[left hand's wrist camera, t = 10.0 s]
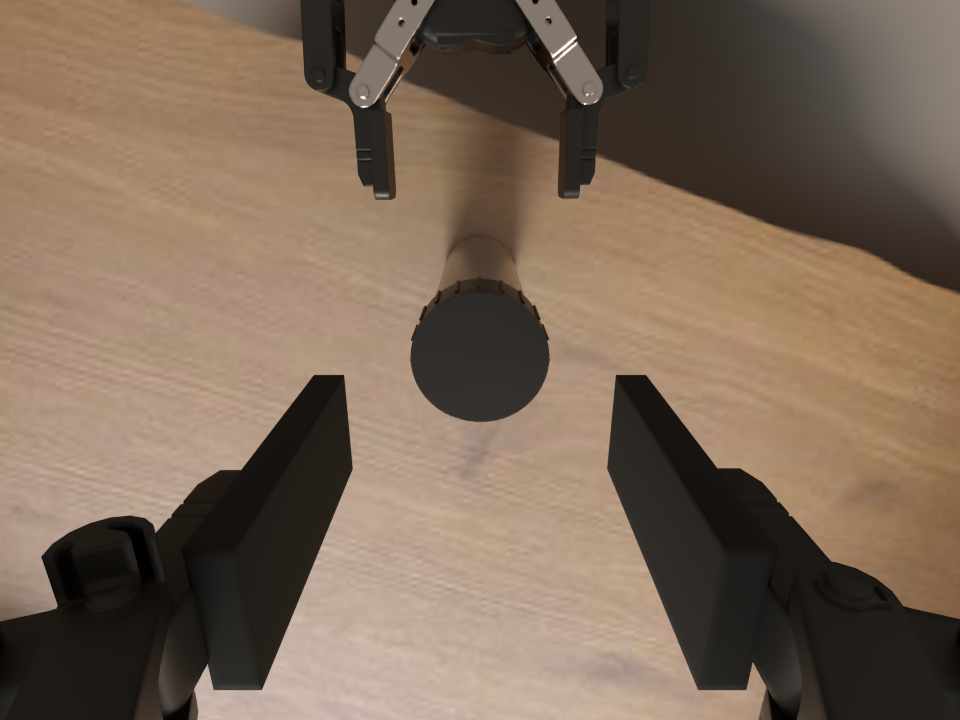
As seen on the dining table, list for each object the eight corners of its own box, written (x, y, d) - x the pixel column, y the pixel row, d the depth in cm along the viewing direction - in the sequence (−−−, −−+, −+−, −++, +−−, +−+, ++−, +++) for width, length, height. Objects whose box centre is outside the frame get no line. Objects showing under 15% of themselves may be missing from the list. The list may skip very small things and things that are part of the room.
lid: (423, 403, 22) (417, 429, 20) (407, 281, 20) (398, 296, 18) (546, 393, 22) (553, 419, 19) (540, 270, 20) (547, 284, 18)
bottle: (449, 307, 34) (427, 415, 20) (441, 238, 33) (412, 302, 18) (516, 301, 34) (543, 406, 20) (512, 232, 33) (537, 291, 18)
